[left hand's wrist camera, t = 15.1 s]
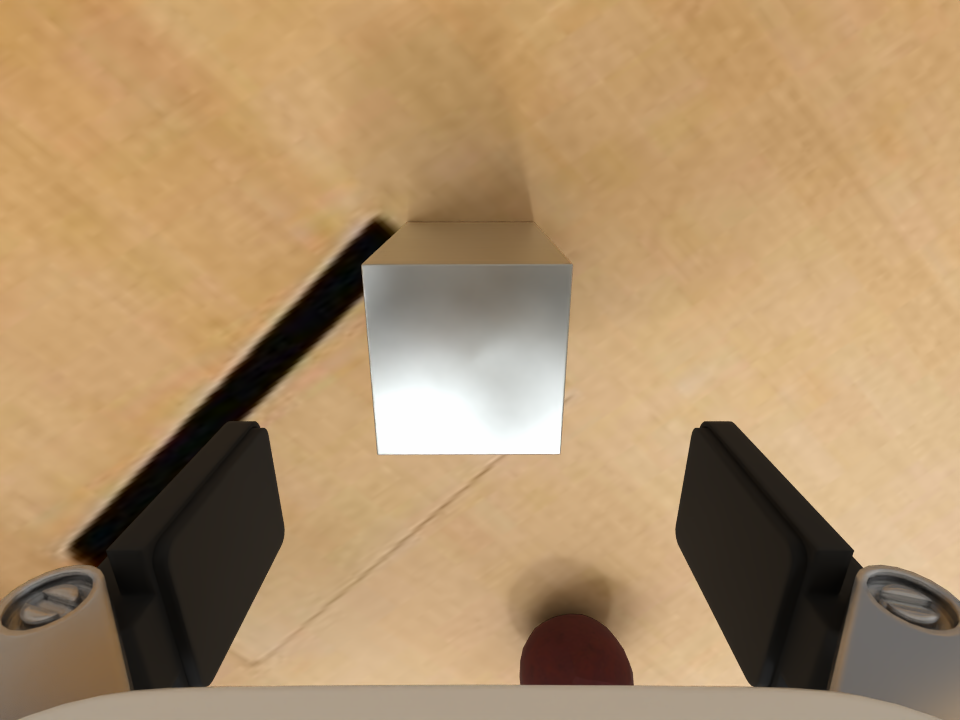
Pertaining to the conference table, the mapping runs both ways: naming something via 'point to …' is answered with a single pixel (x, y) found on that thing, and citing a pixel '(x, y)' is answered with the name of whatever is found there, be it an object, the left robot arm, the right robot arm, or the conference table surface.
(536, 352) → the block
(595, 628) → the plum
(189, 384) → the conference table surface
